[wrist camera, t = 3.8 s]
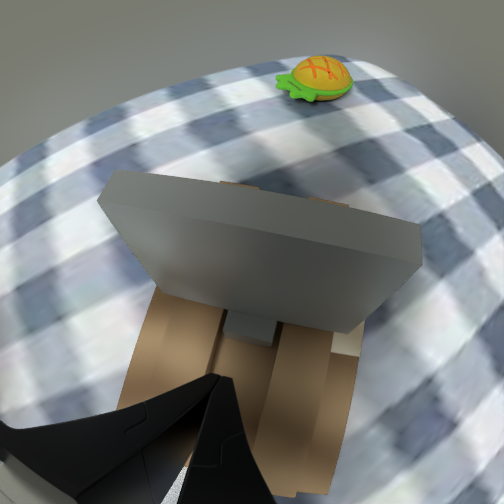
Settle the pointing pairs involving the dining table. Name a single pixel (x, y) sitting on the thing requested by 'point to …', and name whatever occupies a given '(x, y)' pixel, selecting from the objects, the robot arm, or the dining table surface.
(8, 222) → the dining table surface
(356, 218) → the switch lever
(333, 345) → the switch base
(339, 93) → the toy pineapple
